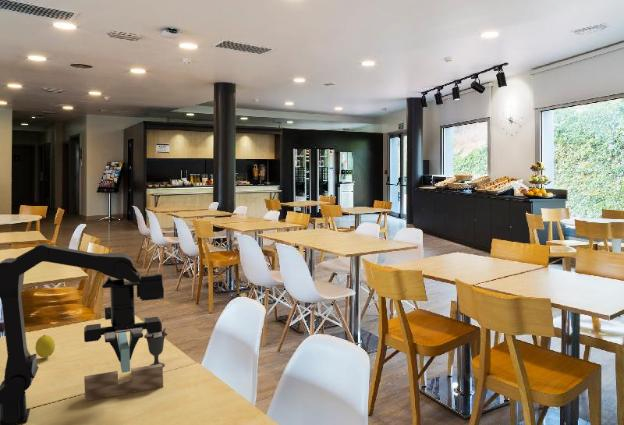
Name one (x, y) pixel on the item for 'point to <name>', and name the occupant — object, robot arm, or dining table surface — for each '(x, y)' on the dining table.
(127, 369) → the teal slotted plate
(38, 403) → the dining table surface
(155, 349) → the sundae
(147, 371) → the walnut slotted plate
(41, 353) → the lemon
